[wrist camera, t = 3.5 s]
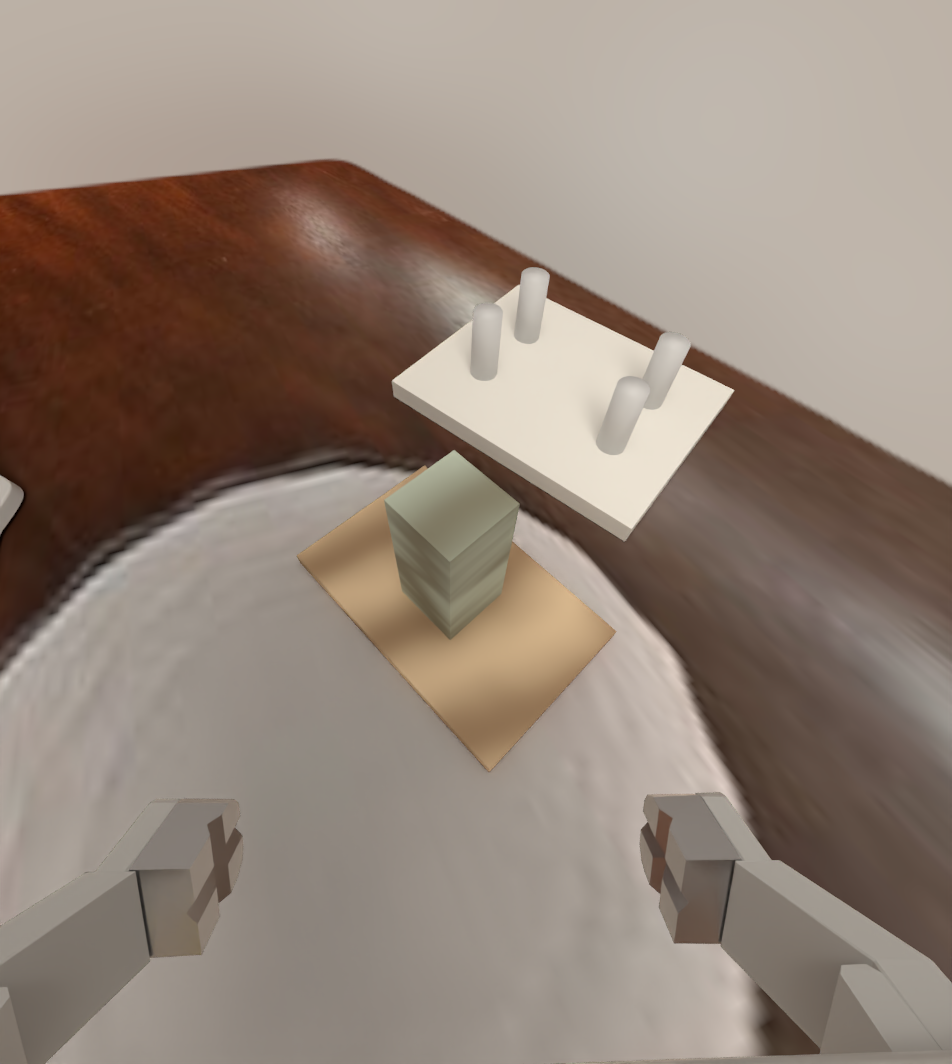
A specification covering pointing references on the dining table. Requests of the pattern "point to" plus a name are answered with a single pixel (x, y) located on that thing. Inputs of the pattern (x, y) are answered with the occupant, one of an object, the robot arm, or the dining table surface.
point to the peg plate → (567, 402)
